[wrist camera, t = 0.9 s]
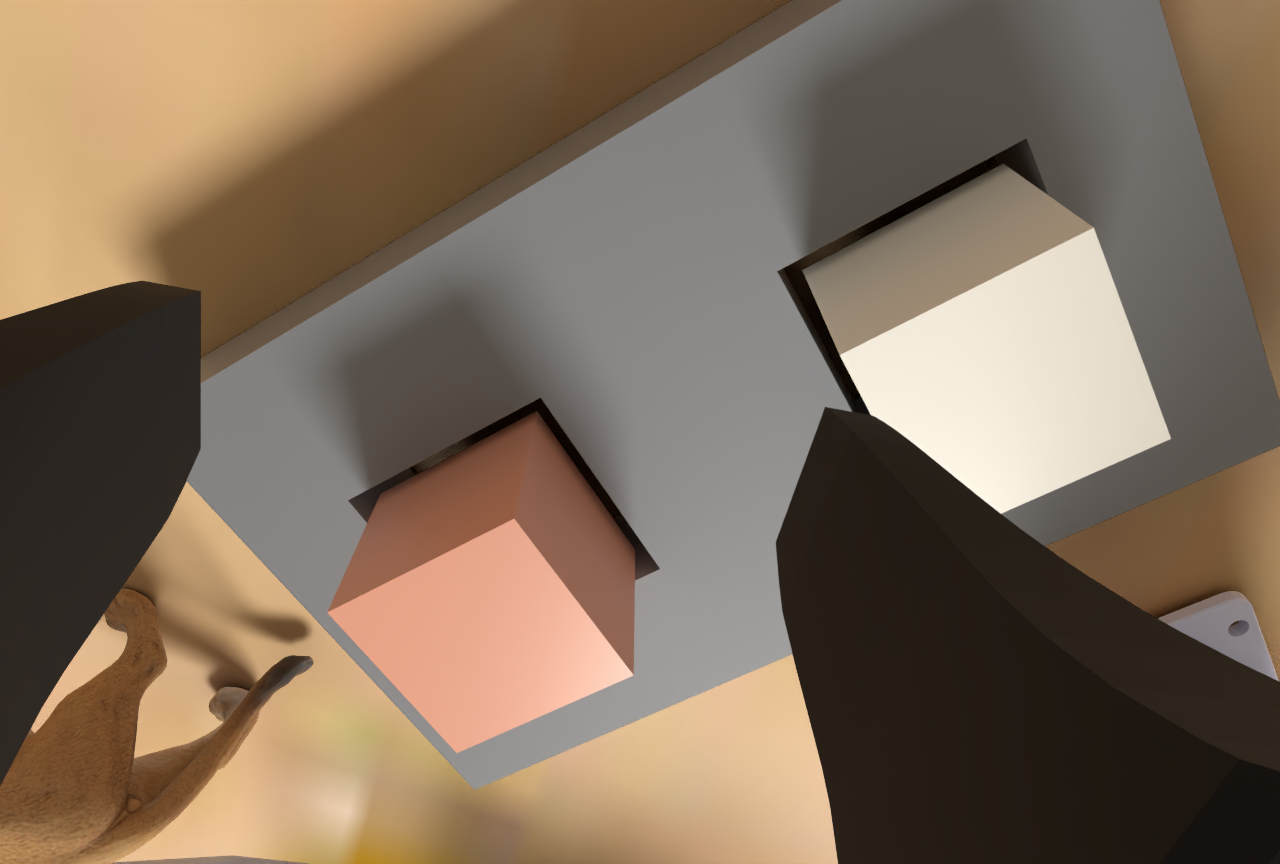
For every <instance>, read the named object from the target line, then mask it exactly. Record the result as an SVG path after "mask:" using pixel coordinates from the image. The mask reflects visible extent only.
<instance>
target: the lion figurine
mask: <svg viewBox="0 0 1280 864" xmlns="http://www.w3.org/2000/svg"><path fill="white" fill-rule="evenodd" d="M104 614H105V618H106V622H107V624H108V625H109V626H110V627H111V628H113V629H116V630H118V631H123V632H126V633H127V636H128V639H127V644H126V647H125V649H124V652H123V653H122V655H121V656H120V657H119V659H118V660H117V661H116V662H115V663H113V664H112V665H111V666H109V667H108V668H107V669H105V670H104V671H102V672H101V673H100V674H98V675H97V676H96V677H94V678H93V679H91V680H90V681H89V682H87V683H86V684H84V685H83V686H81V687H79V688H78V689H76V690H74V691H73V692H71V693H70V694H69V695H67V696H66V697H65V698H64V699H63V700H62V701H61V702H60V703H59V704H58V705H57V707H56V708H55V709H54V711H53V712H52V714H51V715H50V717H49V718H48V719H47V720H46V722H45V723H44V724H43V725H42V726H41V728H40V729H39V730H38V731H37V732H36V733H34V732H33V731H32V730H31V729H30V731H29V733H28V735H27V737H26V738H25V740H24V742H23V744H22V746H21V748H20V750H19V752H18V754H17V756H16V757H15V759H14V761H13V763H12V765H11V767H10V769H9V771H8V773H7V774H6V776H5V778H4V780H3V782H2V784H1V786H0V864H113V863H114V862H115V861H117V860H119V859H121V858H123V857H125V856H126V855H128V854H130V853H132V852H133V851H135V850H137V849H138V848H139V847H141V846H142V845H144V844H145V843H146V842H148V841H149V840H151V839H152V838H154V837H155V836H156V835H157V834H158V833H159V832H160V831H162V830H163V829H164V828H165V827H166V826H167V825H169V824H170V823H171V822H172V821H173V820H174V819H175V818H177V817H178V816H179V815H180V813H181V812H182V811H183V810H184V809H185V808H186V807H187V806H188V805H189V804H190V803H191V802H192V801H193V800H194V799H195V797H196V796H197V795H198V794H199V793H200V792H201V790H202V789H203V788H204V787H205V786H206V785H207V783H208V782H209V781H210V779H211V778H212V777H213V776H214V774H215V773H216V772H217V770H219V769H221V768H223V767H225V766H226V765H227V764H228V762H229V761H230V760H231V759H232V757H233V756H234V755H235V753H236V752H237V750H238V749H239V747H240V746H241V744H242V742H243V741H244V740H245V738H246V737H247V735H248V734H249V733H250V731H251V730H252V728H253V726H254V725H255V723H256V721H257V718H258V715H259V711H260V709H261V708H262V707H263V706H264V705H265V703H266V702H267V701H268V700H269V699H270V697H271V696H272V695H273V693H275V692H276V691H277V690H279V689H280V688H282V687H284V686H285V685H287V684H288V683H289V682H290V681H291V680H292V679H293V678H294V677H295V676H297V675H299V674H301V673H303V672H305V671H307V670H308V669H309V668H310V667H311V666H312V665H313V660H312V658H311V657H310V656H295V655H294V656H288V657H285V658H283V659H282V660H281V661H280V662H278V663H277V664H275V665H274V666H273V667H271V668H270V669H269V670H268V671H267V672H266V673H265V674H264V675H263V677H262V678H261V679H260V680H259V681H257V682H256V683H255V684H254V685H253V687H252V688H251V689H250V691H247V690H244V689H242V688H238V687H223V688H221V689H220V690H219V691H218V692H217V693H216V695H214V697H213V698H212V699H211V700H210V703H209V709H210V712H211V713H212V714H214V715H215V716H216V717H217V719H218V720H220V721H223V723H222V724H221V725H220V726H219V727H218V728H216V729H215V730H213V731H212V732H210V733H209V734H207V735H205V736H203V737H201V738H199V739H197V740H195V741H193V742H191V743H188V744H185V745H181V746H177V747H172V748H169V749H165V750H162V751H158V752H155V753H151V754H147V755H144V756H141V757H137V758H134V750H135V742H136V732H137V720H138V710H139V704H140V700H141V698H142V696H143V694H144V692H145V690H146V689H147V688H148V686H149V685H150V684H151V683H152V682H153V681H154V680H155V679H156V678H157V677H158V676H159V675H160V674H161V673H162V672H163V671H164V669H165V668H166V665H167V657H166V652H165V649H164V645H163V641H162V636H161V631H160V625H159V619H158V614H157V611H156V609H155V607H154V605H153V603H152V602H151V601H150V600H149V599H148V598H147V597H145V596H144V595H142V594H140V593H138V592H136V591H134V590H130V589H120V591H119V592H118V594H117V595H116V597H115V598H114V599H113V601H112V602H111V604H110V605H109V607H108V608H107V610H106V611H105V613H104Z"/></svg>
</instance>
